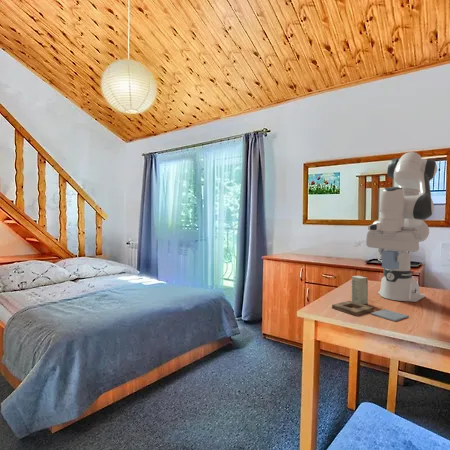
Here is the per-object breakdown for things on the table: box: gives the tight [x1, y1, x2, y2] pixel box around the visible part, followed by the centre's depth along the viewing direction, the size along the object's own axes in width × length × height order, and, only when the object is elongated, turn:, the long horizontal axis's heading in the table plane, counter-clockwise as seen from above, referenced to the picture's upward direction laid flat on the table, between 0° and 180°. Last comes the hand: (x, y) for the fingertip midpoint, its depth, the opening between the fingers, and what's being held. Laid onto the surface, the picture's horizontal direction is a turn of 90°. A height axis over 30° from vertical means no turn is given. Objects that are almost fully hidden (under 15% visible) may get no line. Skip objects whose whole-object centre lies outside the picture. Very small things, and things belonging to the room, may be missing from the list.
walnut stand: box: [331, 300, 375, 317], centre depth 135 cm, size 12×12×2 cm
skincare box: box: [351, 275, 369, 305], centre depth 145 cm, size 6×4×12 cm
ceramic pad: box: [370, 308, 409, 323], centre depth 127 cm, size 10×10×1 cm
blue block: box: [381, 250, 399, 270], centre depth 126 cm, size 4×4×7 cm
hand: (390, 260), depth 126 cm, fingers closed on blue block, 4 cm apart
